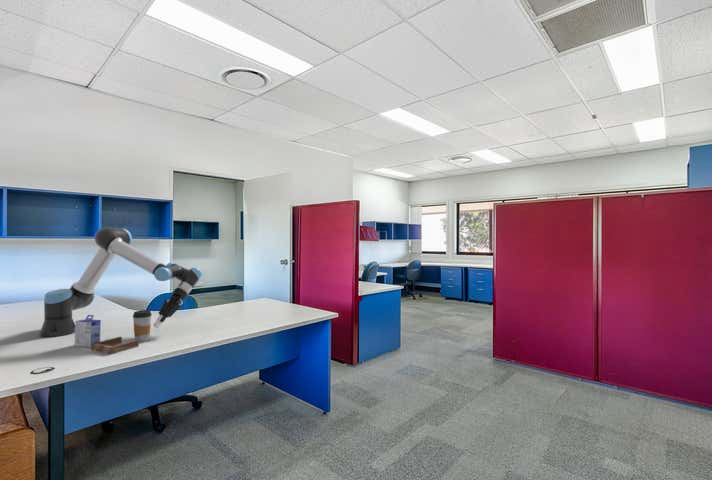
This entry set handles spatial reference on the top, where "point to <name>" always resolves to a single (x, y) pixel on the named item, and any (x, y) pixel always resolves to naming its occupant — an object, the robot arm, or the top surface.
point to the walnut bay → (110, 349)
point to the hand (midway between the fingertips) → (155, 326)
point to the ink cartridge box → (87, 332)
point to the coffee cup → (142, 325)
